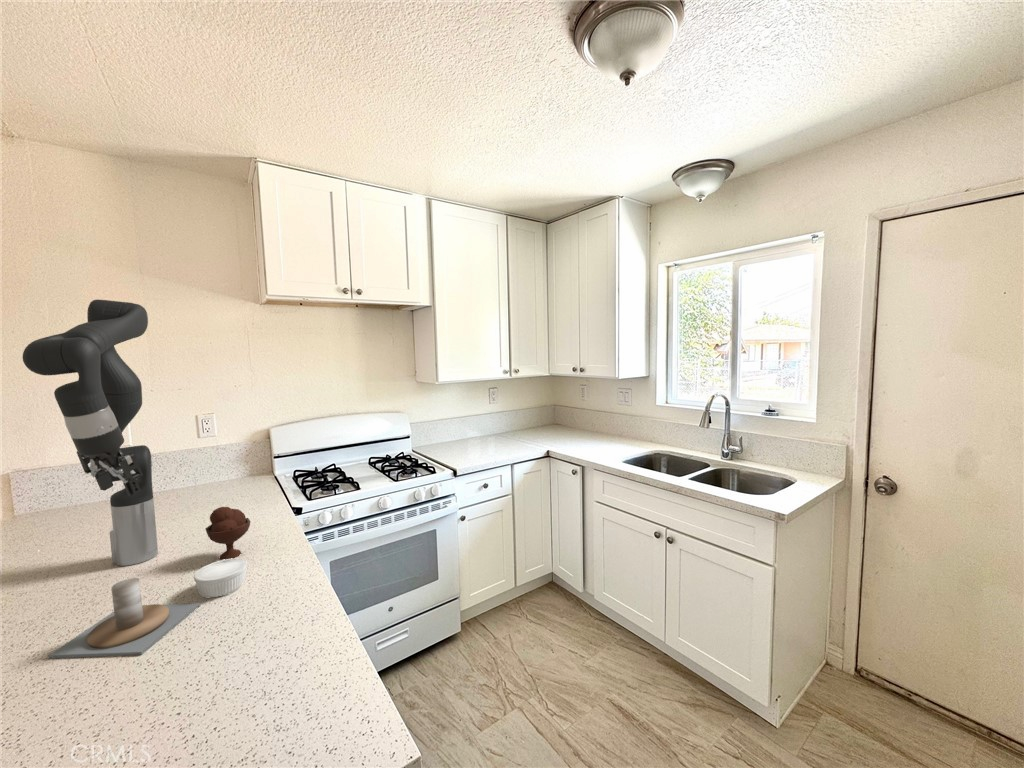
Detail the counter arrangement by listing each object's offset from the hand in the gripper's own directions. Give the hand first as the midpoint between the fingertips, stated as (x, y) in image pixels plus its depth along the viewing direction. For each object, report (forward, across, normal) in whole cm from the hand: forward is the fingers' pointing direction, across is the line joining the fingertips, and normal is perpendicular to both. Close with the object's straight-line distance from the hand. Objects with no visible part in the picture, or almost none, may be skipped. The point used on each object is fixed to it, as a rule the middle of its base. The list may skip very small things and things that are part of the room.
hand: (121, 491), depth 96 cm
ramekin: (+29, -16, -3) cm, 34 cm away
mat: (+24, -11, +14) cm, 30 cm away
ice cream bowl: (+35, -2, -17) cm, 39 cm away
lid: (+24, -11, +13) cm, 29 cm away
